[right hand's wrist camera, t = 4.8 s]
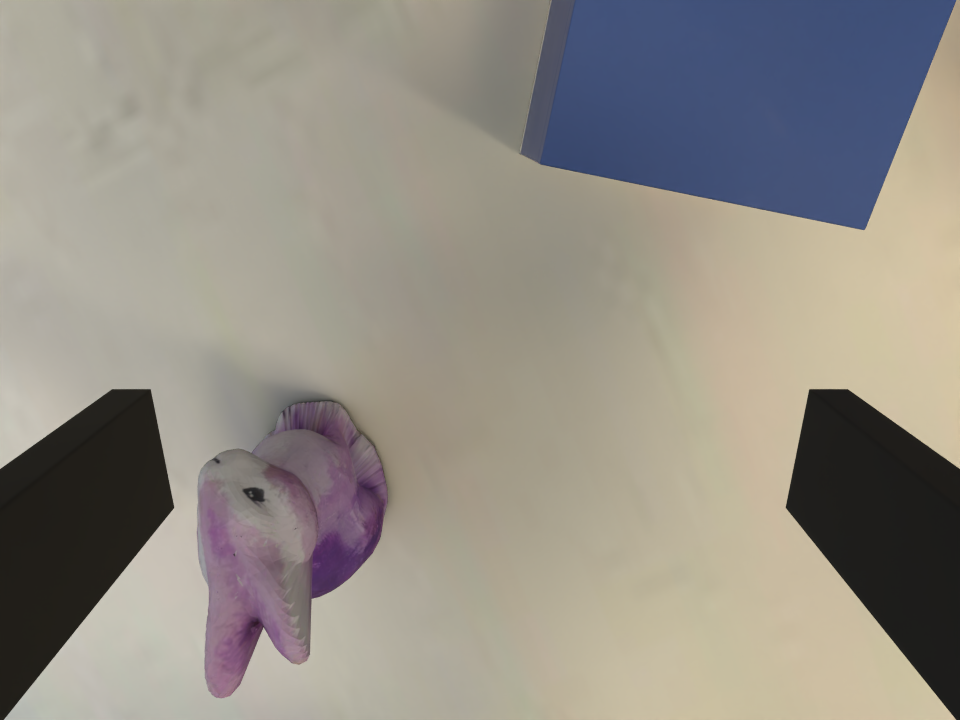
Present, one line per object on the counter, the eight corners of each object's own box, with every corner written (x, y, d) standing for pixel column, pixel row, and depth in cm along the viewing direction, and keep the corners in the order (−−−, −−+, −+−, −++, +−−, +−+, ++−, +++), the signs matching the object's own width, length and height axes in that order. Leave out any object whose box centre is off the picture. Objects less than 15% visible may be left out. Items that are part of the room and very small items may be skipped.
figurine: (290, 360, 35) (166, 510, 21) (430, 464, 38) (400, 661, 24) (201, 470, 38) (36, 670, 24) (337, 562, 40) (260, 794, 26)
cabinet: (585, -173, 27) (654, -373, 16) (838, -112, 28) (1063, -266, 17) (519, 154, 32) (539, 164, 21) (738, 198, 33) (865, 230, 22)
